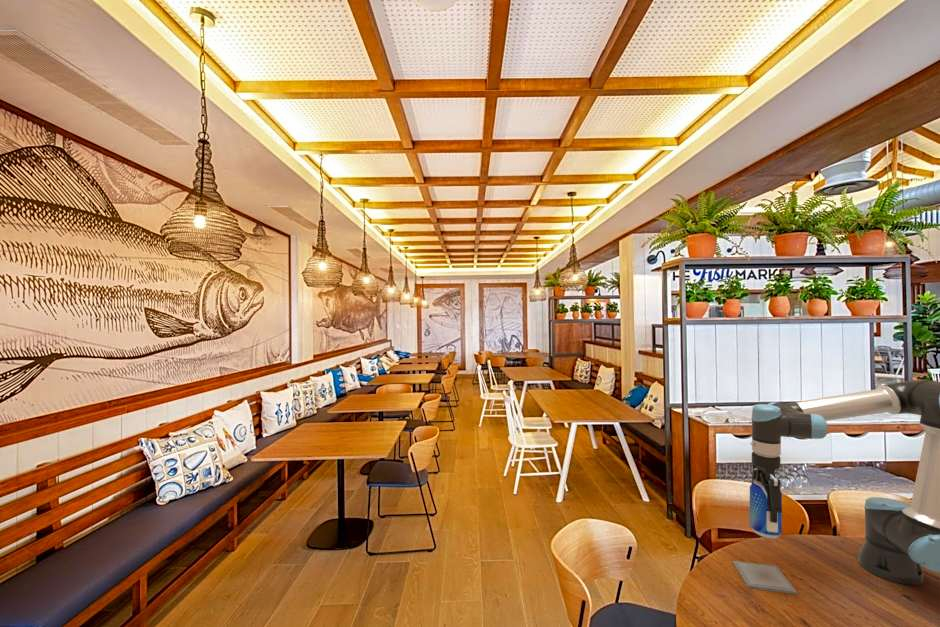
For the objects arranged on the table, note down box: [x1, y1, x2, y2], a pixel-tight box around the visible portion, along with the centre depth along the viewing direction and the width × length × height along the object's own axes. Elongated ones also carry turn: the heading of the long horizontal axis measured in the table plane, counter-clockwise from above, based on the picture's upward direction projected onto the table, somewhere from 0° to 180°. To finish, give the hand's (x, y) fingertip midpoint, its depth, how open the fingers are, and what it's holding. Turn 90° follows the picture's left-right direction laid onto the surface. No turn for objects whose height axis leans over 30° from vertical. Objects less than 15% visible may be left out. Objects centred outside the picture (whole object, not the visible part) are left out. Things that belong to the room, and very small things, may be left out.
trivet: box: [732, 560, 798, 596], centre depth 133 cm, size 13×13×1 cm
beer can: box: [749, 479, 783, 539], centre depth 132 cm, size 8×8×16 cm
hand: (765, 523), depth 132 cm, fingers closed on beer can, 8 cm apart
